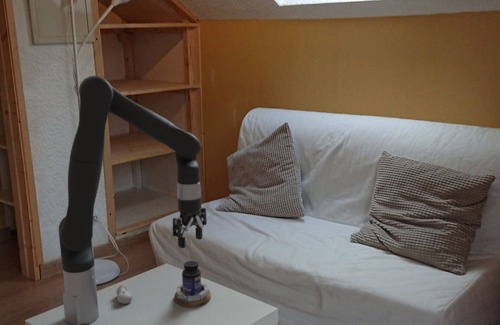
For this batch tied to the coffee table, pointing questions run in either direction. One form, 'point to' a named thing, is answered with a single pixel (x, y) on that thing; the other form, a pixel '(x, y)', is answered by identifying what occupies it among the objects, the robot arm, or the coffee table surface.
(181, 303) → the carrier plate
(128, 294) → the white head bust
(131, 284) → the coffee table surface
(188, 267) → the pill bottle
